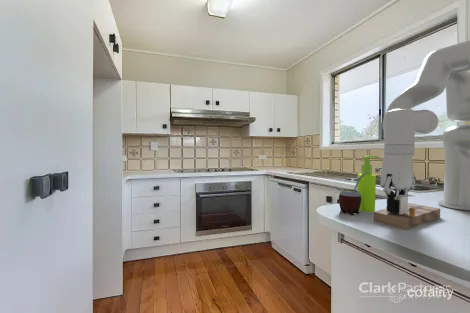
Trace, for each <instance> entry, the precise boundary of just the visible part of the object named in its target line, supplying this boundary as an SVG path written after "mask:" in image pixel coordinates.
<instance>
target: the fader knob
mask: <svg viewBox="0 0 470 313" xmlns="http://www.w3.org/2000/svg"><path fill="white" fill-rule="evenodd" d="M398 200H400V205H399V213H398V214H404V213H408V203H409V195H408V196H404V195H399V196H398ZM385 209H386V211H387V208H385ZM387 212H388V211H387ZM396 214H397V213H396Z"/></svg>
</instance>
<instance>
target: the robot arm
mask: <svg viewBox="0 0 470 313" xmlns="http://www.w3.org/2000/svg"><path fill="white" fill-rule="evenodd" d="M468 71H470V40H466V41H462V42H459V43H455V44H452V45H449V46H446V47H445V46H444V47H442V48H439V49H436V50H434V51H431V52H430V53H429V54H427V55H426V57H425V58H424V60H423V62H422V65H421V66H420V69H419V71H418V74H417V76H416V77H415V79H414V82H413V84H412V85H411V86H410V87H408V88H406V89H405V90H404V91H403V92H401V93H400V94H399V95H398V96H397V97H395V98H394V99H393V101H391V103H390V104H389V105H388V107H387V109H386V112H385V114H384V117H383V120H382V130H383V133H384V134H383V137H384V140H383V158H382V164H381V169H380V170H381V171H380V187H381V188H383V189H382V190H383V192H384V193H385V197H386V209H387V211H388V212H392V213H397V214H398V213H399V205H400V200H398V196H399V195H404V196H408V197H409V190H410V189H411V188H412V186H413V180H414V179H413V178H414V168H413V167H414V165H413V157H414V156H415V139H416V138H415V137H416V136H417V135H418V136H420V135H421V136H422V135H428V134H431V133H433V132H434V131H435V130H436V129H437V127H438V126H439V117H438V116H437V114H436V113H435V112H434V111H432V110H429V109H419V110H418V109H417V110H413V108H416V107H417V106H419V105H422V104H424V103H427V102H429V101H431V100H433V99H436V98H437V97H438V96H441V94H442V93H444V91H445V98H446V100H445V101H446V102H445V104H446V116H447V119H448V120H449V121H451V122H455V123H456V122H461V123H462V122H470V72H468ZM442 143H443V149H444V150H443V151H444V176H443V177H444V179H443V180H444V181H443V199H442V200H438V202H437V203H438V205H439V206H441V207H445V208H447V209H453V210H462V211H470V124H459V125H453V126H450V127H448V128H446V129H444V131H443V133H442Z"/></svg>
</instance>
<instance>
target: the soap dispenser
mask: <svg viewBox="0 0 470 313" xmlns="http://www.w3.org/2000/svg"><path fill="white" fill-rule="evenodd" d="M361 158H363V159H364V160H363V162H364V163H362V164H361V168H360V169H361V172H360V173H357V180H356V182H357V181H358V178H359V177H360V176H361V175H363V174H364V173H366V172H368V173H367V174H365V175H364V176H363V177H362V178H361V180H360V181H359V183H358V186H357V188H356V190H357V191H359V193H360V194H361V204H360V208H359V212H363V213H374V212H375V211H376V190H377V188H376V186H377V185H376V182H377V180H376V179H377V175H376V174H374V173H373V165H372V163H371V164H370V158H372V159H373V158H374V159H380V156H376V155H362V156H361Z"/></svg>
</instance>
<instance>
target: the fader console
mask: <svg viewBox="0 0 470 313" xmlns="http://www.w3.org/2000/svg"><path fill="white" fill-rule="evenodd" d="M386 209H387V208H384V209H383V208H382V209H380V210H375V212H373V215H372V216H373V217H372V218H373V219H372V222H375V223H379V224H382V225H384V226H385V225H386V226H390V227H394V228H397V229H401V230H405V231H407V230H410V229H412V228H416V227H418V226H421V225H424V224H427V223H429V222H432V221H435V220H437V219H440V218H441V208H440V207H439V208H438V207H433V206H427V205H421V204H417V203H410V202H408V213H404V214H396V213H392V212H387V211H386Z"/></svg>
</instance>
